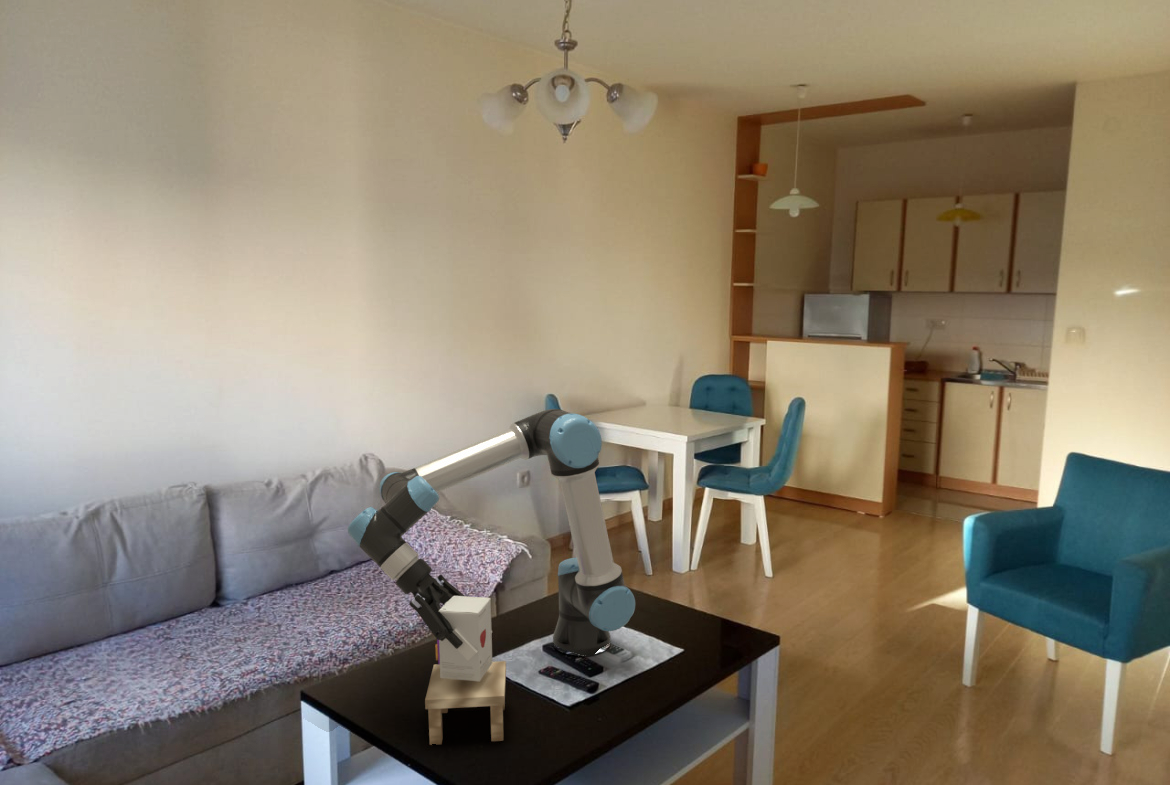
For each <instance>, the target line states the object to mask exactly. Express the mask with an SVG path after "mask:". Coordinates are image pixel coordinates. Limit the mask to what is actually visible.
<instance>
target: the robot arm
mask: <svg viewBox="0 0 1170 785" xmlns="http://www.w3.org/2000/svg"><path fill="white" fill-rule="evenodd" d="M602 443H603V441H602V435H601V432H600V430H599V429H598V427H597V426H596V424H595V423H594V422H593V421H591V420H590V419H588V418H587V417H586V416H584V415H582V414H579V413H574V412H573V413H572V412H569V411H565V410H563V409H559V408H551V409H550V408H548V409H546V410H542V411H539V412H536V413H535V414H531V415H529V416H527V417H525V418H522V419H519V420H518V421H515V422H512V423H510V426H509V428H508V429H506V430H504V431H501V432H499V433H496V434H495V435H491V436H489V437H487V438H484V439H482V440H480V441H477V442H475V443H473V444H472V443H471V444H470V445H467V446H465V447H462V448H461V449H457V450H455V451H453V452H450V453H448V454H445V455H443V456H440V457H438V458H435V459H433V460H430V461H428V462H425V463H424V464H421V465H419V466H416V467H414V468H411V469H408V470H406V471H403V472H399V471H398V472H397V471H396V472H395V471H394V472H393V471H392V472H390V473H388V474H386V475H384V477H383V478H382V479H381V481H380V482H379V487H378V488H379V494H380V497H381V499H382V500H383V502H384V503H385V504H384V505H383V506H382V507H381V508H379V509H375V508H374V507H372V506H370V507H367V508H366V509H364V510H363V511H362V512H361V513H359V514H358V515H357V516H356V517H354V519H353V520H352V521H351V522H350V523H349V525H348V527H347V533H348V535H349V536H350V537H351V539H352V540H353V541H354V542H355V543H356V544H357V546H358V547H359V548H360V549H361V550H362V551H363V552H364V553H365V554H366V555H367V556H368V557H369V558H370V559H371V560H372V561H373V562H374V563H375V564H376V566H378V567H379V568H380V569H381V570H382V571H383V572H384V574H385V575H387V576H388V577H389V578H390V579H391V581H394V580H395V585H396V586H397V587H398V588H399V589H400V590H401V592H402V593H403V594H404V595H409V594H410V593H411V594H412V595H413V599H412V600H411V601H410V602H409V606H410V607H411V608H413V610H414V611H415V612H417V614H418V616H419V617H420V618H421V620H422V621H423V622H424V624H425V625H426V626H427V628H428V629H429V630H430V631H431V633H432V634H433V636H434V637H435V638H436V640H437V639H438V640H441V641H443V640H444V639H445V638H446V639H447V640H448V641H449V642H450V643H451V644H452V645H453V646H454V647H455V648H456V649H457V650H458V651H459V652H460V653H461V654H462V655H463V656H464V657H465V658H466V659H467V660H470V659H471V658H472V657H473V656H474V655H475V654H476V653H477V652H478V651H477V650H476V649H475V648H474V647H473V646H472V645H471V644H470V643H469V642H468V641H467V639H466V638H465V637H464V636H463V635H462V634H461V633H460V632H459V631H458V630H457V629H455V630H454V631H453V628H452V627H451V625H450V623H449V621H448V620H447V619H446V618H445V617H444V616H443V615H442V614H441V613H440V612H438V611H439V610H440V609H441V608H442V607H441V604H442V606H444V605H445V603H446V602H448V601H449V600H450V599H451V598H452V597H453V596H465V595H464V594H463V593H462V592H461V591H459V590H458V589H457V588H456V587H455V586H453V585H452V584H451V583H450V582H449V581H448V580H447V579H446V578H445V577H444V576H443V575H442V574H439V575H438V576H437V577H436V578H435V577H433V576H432V575H431V572H432V570H433V569H432V567H431V566H430V565H429V564H428V563H427V562H426V561H425V559H423V558H419V553H417V551H416V550H414V548H413V547H411V545H410V544H409V543H408V542H407V541H406V540H405V539H404V537H403V536H404V535H405V534H406V533H407V532H408V531H409V530H410V529H411V528H412V527H413V526H414V525H416V523H418V522H419V521H420V520H421V519H422V518H423V517H424V516H425V515H426V514H427V513H429V512H430V511H431V510H432V508H434V507H435V505H436V504H438V502H439V500H440V495H439V494H438V493H440V492H442V491H445V490H447V489H450V488H452V487H455V486H456V485H459V484H462V483H464V482H467V481H469V480H471V479H474V478H475V477H479V476H480V475H484V474H485V473H487V472H490V471H492V470H494V469H497V468H499V467H502V466H504V465H506V464H510V463H511V462H514V461H516V460H519V459H522V460H525V461H526V460H529V459H532V458H534V457H538V456H546V457H547V459H548V464H549V468H550V473H551V476H552V477H554V478H556V479H557V480H559V484H560V488H561V492H562V499H563V503H564V507H565V511H566V515H567V516H566V517H567V520H568V524H569V529H570V534H571V538H572V543H573V548H574V552H575V557H572V558H571V557H570V558H567V559H564V560H562V561H561V562H560V563H559V564H558V569H557V570H558V572H557V579H558V584H557V587H558V619H557V622H556V625H555V629H554V632H553V636H552V644H553V643H554V644H555V645H556V646H558V647H560V648H562V649H564V650H567V651H570V652H574V653H577V654H580V655H584V656H583V657H591V655H592V656H595V655H594V654H595V653H596V652H597V651H598V650H599V649H600V648H602V647H604V646H606V645H607V644H609V643H610V644H611V634H610V632H615V631H617V630H620V629H622V628H623V627H625V626H626V624H628V622H629V621H630V620H631V617H632V616H633V615H634V612H635V610H636V599H635V596H634V594H633V592H632V591H631V589H630V588H628V587H627V586H626V583H625V579H624V575H623V570H622V567H621V565H619V564H617V563H615V562H614V558H613V553H612V548H611V544H610V539H609V536H608V534H609V533H608V529H607V525H606V524H607V523H606V520H605V515H604V510H603V507H602V502H601V497H600V492H599V487H598V482H597V479H596V473H595V472H596V470H598V467H599V466H600V461H599V454H600V453H601V450H602V446H603V445H602ZM491 633H493V630H491ZM585 655H586V656H585Z"/></svg>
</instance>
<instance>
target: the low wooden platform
mask: <svg viewBox="0 0 1170 785" xmlns="http://www.w3.org/2000/svg"><path fill="white" fill-rule="evenodd" d="M506 678H507V661H506V660H502V661H497V660H496V661H492V664H491V666H490V667H489V669H488V670H487V672H486V673H485V674H484V676H483V677H482V679H481V680H480V681H469V680H457V679H446V678H440V664H438V663H437V664H433V667H432V671H431V675H430V679H429V683H428V687H427V692H426V696H425V699H424V705H425V710H427V711H428V712H427V713H428V730H429V732H428V736H429V745H430V746H433V745H432V744H436V745H443V738H444V737H443V736H444V734H443V714H447V713H448V712H449V709H456V708H458V709H459V708H477V707H490V710H489V711H490V735H491V736H490V737H491V739H490V740H491V742H501V741H502V742H503V741H504V711H505V709H506V708H505V707H506V705H505V704H506V701H505V700H506V684H507V683H506V681H507V680H506Z"/></svg>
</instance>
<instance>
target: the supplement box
mask: <svg viewBox="0 0 1170 785" xmlns="http://www.w3.org/2000/svg"><path fill="white" fill-rule="evenodd" d="M491 602H492V601H491V597H480V596H468V595H467V596H466V595H464V596H453V597H452V598H451V599H450V600H449V601H448V602H446V603H445V605H442V607H441V609H440V610H439V611H438V612H440V613H441V614H442V615H443V616H444V617H445V618H446V619H447V620H448V621H449V623H450V625H451V627H452V628H453V631H454V630H455V629H457V630H458V631H459V632H460V633H461V634H462V635H463V636H464V637H465V638H466V639H467V641H468V642H469V643H470V644H471V645H472V646H473V647H474V648H475V649H476V650H477V651H478V652H477V653H476V654H475V655H474V656H473V657H472V658H471V659H470V660H467V659H466V658H465V657H464V656H463V655H462V654H461V653H460V652H459V651H458V650H457V649H456V648H455V647H454V646H453V645H452V644H451V643H450V642H449V641H448V640H447V639H446V638H445V639H444V640H443V641H441V640H439V652H440V678H446V679H457V680H469V681H480V680H481V679H482V677H483V676H484V674H485V673H486V672H487V670H488V669H489V667H490V666H491V664H492V662H493V640H492V638H493V637H492V633H493V632H492V633H491V631H492V609H491V608H492V603H491Z"/></svg>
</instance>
